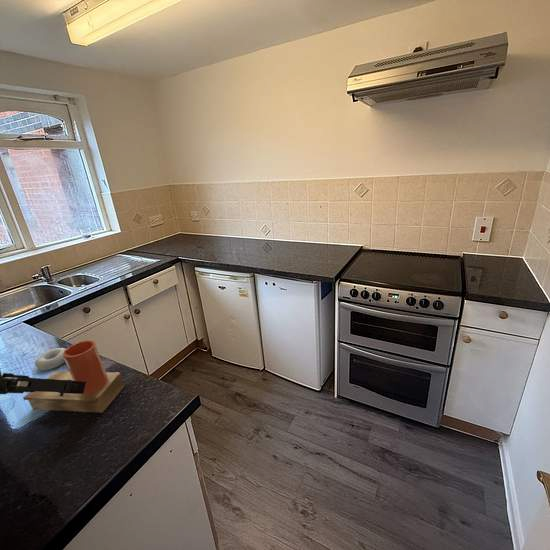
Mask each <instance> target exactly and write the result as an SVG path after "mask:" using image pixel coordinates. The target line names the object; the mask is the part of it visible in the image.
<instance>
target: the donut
mask: <svg viewBox="0 0 550 550" xmlns="http://www.w3.org/2000/svg"><path fill="white" fill-rule="evenodd" d="M65 349H66V348H64V347H58V348H52V349H50V350H48V351H45V352H44V353H42V354H40V355H39V356H38V357H37V358H36V359H35V360H34V361H35V362H34V366H35V369H38V370H41V371H49V370H53V369H56V368H57V367H59V366H61V365H63V364H64V363H66V362H65V360H64V357H63V352H64V350H65Z"/></svg>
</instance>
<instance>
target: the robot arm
mask: <svg viewBox="0 0 550 550" xmlns="http://www.w3.org/2000/svg"><path fill="white" fill-rule="evenodd" d="M85 385H86V382H81V381H72V380H56V379H47V378H39V377H30V376H29V375H21V374H14V373H9V372H3V373H2V370H1V369H0V395H7V394H24V393H29V392H35V391H40V392H58V393H60V396H63V395H64V393H73V394H83V392H84V388H85Z"/></svg>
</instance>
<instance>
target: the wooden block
mask: <svg viewBox="0 0 550 550" xmlns="http://www.w3.org/2000/svg"><path fill="white" fill-rule="evenodd" d="M105 372H106V374H107V377H108V381H107V383H106V384H105V385H104V386H103V387H102V388H100V389H99V390H97V391H95V392H92V393H89V394H73V393H64V395H63V396H60V393H58V392H40V391H35V392H27V393H26V394H25V396H23V397H22V398H23V400H24V401H28V402H29V405H30V407H31V409H32V410H41V411H58V412H59V411H60V412H79V413H80V412H82V413H100V414H101V413H104V412H105V411H106V409H108V407H109V406H110V405H111V403H113V401H114V400H115V399H116V397H117V396H119V394H120V393H121V392H122V390H123V389H124V388H125V387H126V385H125V382H124V379H123V376H122V374H121V372H110V371H109V372H108V371H105ZM46 379H56V380H72V381H73V378H72V376H71V374H70V371H69V370H68V371H67V370H65V371H64V370H63V371H62V370H55V371H54V372H53V373H52V374H50V375H49V376H48V377H46Z"/></svg>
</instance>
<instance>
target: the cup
mask: <svg viewBox="0 0 550 550" xmlns="http://www.w3.org/2000/svg"><path fill="white" fill-rule="evenodd" d="M63 357H64V360H65V362H64V363H65V364H66V366H67V369H68V371H70V374H71V376H72V378H73V381H81V382H86V385H85V388H84V392H83V394H89V393H92V392H95V391H97V390H99V389H100V388H102V387H103V386H104V385H105V384H106V383H107V381H108V377H107V374H106V372H107V371H106V369H105V366H104V364H103V360H102V359H101V356H100V352H99V350H98V347H97V345H96V342H95V340H92V339H91V340H90V339H88V340H86V339H85V340H82V341H79V342H76V343H73V344H72V345H69V346H68V347H66V348H65V350H64V352H63Z"/></svg>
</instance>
